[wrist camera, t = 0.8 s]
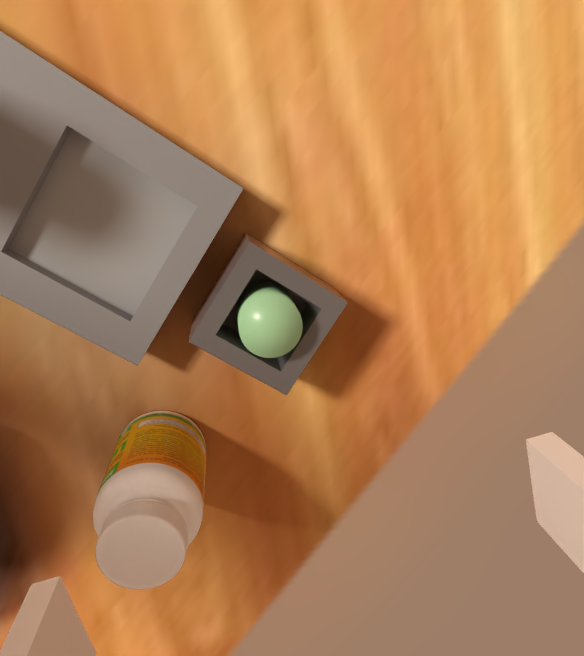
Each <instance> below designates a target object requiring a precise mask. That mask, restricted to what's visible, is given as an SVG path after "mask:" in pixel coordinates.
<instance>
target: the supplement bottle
mask: <svg viewBox="0 0 584 656" xmlns="http://www.w3.org/2000/svg"><path fill="white" fill-rule="evenodd" d="M205 469H206V444H205V440H204V437H203V435H202V433H201V431H200V429H199V428H198V427H197V425H196V424H195V423H194V422H193V421H191V420H190V419H189V418H187V417H185V416H184V415H181V414H179V413H176V412H171V411H153V412H148V413H145V414H143V415H140V416H138V417H137V418H135V419H134V420H132V421H131V422H130V423H129V424H128V425H127V426H126V427H125V429H124V430H123V432H122V433H121V435H120V437H119V439H118V442H117V444H116V447H115V450H114V453H113V455H112V458H111V461H110V464H109V466H108V469H107V471H106V474H105V477H104V479H103V482H102V485H101V487H100V490H99V492H98V495H97V498H96V501H95V505H94V509H93V523H94V528H95V531H96V534H97V536H98V541H97V544H96V561H97V564H98V566H99V568H100V570H101V572H102V573H103V574H104V575H105V576H106V577H107V578H108V579H109V580H110V581H112V582H113V583H115V584H117V585H119V586H121V587H124V588H129V589H136V590H143V589H150V588H154V587H157V586H160V585H162V584H164V583H166V582H168V581H169V580H171V579H172V578H173V577H174V576H175V575H176V574H177V573H178V572H179V570H180V569H181V567H182V565H183V563H184V560H185V556H186V549H187V547H188V546H189V545H190V544H191V542H192V541H193V540H194V538H195V537H196V535H197V533H198V531H199V529H200V526H201V523H202V518H203V507H204V488H205Z"/></svg>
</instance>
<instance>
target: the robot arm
mask: <svg viewBox="0 0 584 656" xmlns="http://www.w3.org/2000/svg"><path fill="white" fill-rule="evenodd" d="M526 443H527V451H528V459H529V466H530V474H531V481H532V489H533V496H534V504H535V511H536V518H537V522H538V523H539V524H540V525H541V526H542V527H543V529H544V530H545V531H546V532H547V533H548V534H549V535H550V536H551V537H552V539H553V540H554V541H555V542H556V543H557V544H558V545H559V546H560V548H561V549H562V550H563V551H564V552H565V553H566V554H567V555H568V556H569V558H570V559H571V560H572V561H573V562H574V563H575V564H576V565H577V566H578V568H579V569H580V570H581V571H582V572H583V573H584V457H583V456H582V455H581V454H579V453H578V452H577V451H576V450H574V449H573V448H572V447H571V446H569V445H568V444H567V443H565V442H564V441H563V440H562V439H560V438H559V437H558V436H556V435H555V434H554V433H552V432H550V433H547V434H543V435H540V436H537V437H533V438H529V439H526ZM0 656H96V651H95V649H94V647H93V645H92V643H91V641H90V639H89V636H88V634H87V632H86V630H85V628H84V626H83V624H82V622H81V619H80V617H79V615H78V613H77V611H76V609H75V607H74V605H73V602H72V600H71V598H70V596H69V594H68V592H67V590H66V588H65V586H64V583H63V581H62V579H61V577H60V576H58V577H55V578H51V579H48V580H44V581H41V582H38V583H34V584H32V585H31V587H30V589H29V591H28V593H27V595H26V597H25V599H24V601H23V604H22V606H21V608H20V610H19V612H18V614H17V616H16V618H15V620H14V622H13V625H12V627H11V629H10V631H9V633H8V635H7V637H6V639H5V641H4V643H3V646H2V648H1V650H0Z"/></svg>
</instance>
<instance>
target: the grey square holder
mask: <svg viewBox="0 0 584 656" xmlns="http://www.w3.org/2000/svg"><path fill="white" fill-rule="evenodd" d="M257 281H272V282H275V283H277V284H279V285H281V286H282V287H283V288H284V289H285V290H286V291H287V292H288V294H289V295H290V297H291V299H292V301H293V302H294V304H295V306H296V308H297V309H298V311H299V313H300V315H301V318H302V323H303V329H302V334H301V337H300V340H299V342H298V343H297V345H296V346H295V347H294V348H293V349H292V350H291V351H290V352H288V353H286V354H285V355H282V356H279V357H275V358H264V357H260V356H257V355H255V354H253V353H252V352H250V351H249V350H248V349H247V348H246V347H245V346H244V344H243V343H242V340H241V338H240V335H239V329H238V321H237V313H236V304H237V300H238V298H239V296H240V295H241V293H242V292H243V290H244V289H245V288H246V287H247V286H249V285H250V284H252V283H254V282H257ZM347 303H348V302H347V301H346V300H345V299H344V298H343V297H342V296H341V295H340V294H339V293H338V292H337V291H336V290H335V289H334V288H333V287H332V286H330V285H329V284H327V283H325V282H324V281H322V280H321V279H319V278H317V277H316V276H314V275H313V274H311V273H309V272H308V271H306V270H305V269H303V268H301V267H300V266H298V265H297V264H295V263H293V262H292V261H290V260H289V259H287V258H285V257H284V256H282V255H280V254H279V253H277V252H276V251H274V250H272V249H271V248H269V247H268V246H266V245H264V244H263V243H261V242H260V241H258V240H256V239H255V238H253V237H252V236H250V235H248V234H247V233H246V234H245V235H244V237H243V239H242V240H241V242H240V243H239V245H238V247H237V248H236V250H235V252H234V253H233V255H232V257H231V258H230V260H229V262H228V263H227V265H226V266H225V268H224V270H223V271H222V273H221V275H220V276H219V278H218V280H217V281H216V283H215V285H214V286H213V288H212V289H211V291H210V293H209V294H208V296H207V298H206V299H205V301H204V303H203V304H202V306H201V308H200V309H199V311H198V312H197V314H196V316H195V317H194V319H193V321H192V325H191V331H190V336H189V341H188V342H190V343H192V344H193V345H195V346H197V347H199V348H201V349H203V350H204V351H206V352H208V353H210V354H212V355H214V356H215V357H217V358H219V359H221V360H223V361H225V362H226V363H228V364H230V365H232V366H234V367H236V368H237V369H239V370H241V371H243V372H245V373H247V374H248V375H250V376H252V377H254V378H256V379H258V380H259V381H261V382H263V383H265V384H267V385H269V386H270V387H272V388H274V389H276V390H278V391H280V392H281V393H283V394H285V395H287V394H288V393H289V391H290V389H291V388H292V386H293V385H294V383H295V382H296V380H297V379H298V377H299V376H300V374H301V373H302V371H303V370H304V368H305V367H306V365H307V364H308V362H309V361H310V359H311V358H312V356H313V355H314V353H315V352H316V350H317V349H318V347H319V346H320V344H321V343H322V341H323V340H324V338H325V337H326V335H327V334H328V332H329V331H330V329H331V328H332V326H333V325H334V323H335V322H336V320H337V319H338V317H339V316H340V314H341V312H342V311H343V309H344V308H345V306H346V305H347Z"/></svg>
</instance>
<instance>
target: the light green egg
mask: <svg viewBox="0 0 584 656" xmlns="http://www.w3.org/2000/svg"><path fill="white" fill-rule="evenodd" d="M236 313H237V321H238V329H239V335H240V338H241V340H242V343H243V344H244V346H245V347H246V348H247V349H248V350H249V351H250V352H252V353H253V354H255V355H257V356H260V357H264V358H275V357H279V356H282V355H285V354H286V353H288V352H290V351H291V350H292V349H293V348H294V347H295V346H296V345H297V343H298V342H299V340H300V337H301V334H302V329H303V323H302V318H301V315H300V313H299V311H298V309H297V308H296V306H295V304H294V302H293V301H292V299H291V297H290V295H289V294H288V292H287V291H286V290H285V289H284V288H283V287H282V286H281V285H279V284H277V283H275V282H272V281H257V282H254V283H252V284H250V285H249V286H247V287H246V288H245V289H244V290H243V292H242V293H241V295H240V296H239V298H238V300H237V304H236Z"/></svg>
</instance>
